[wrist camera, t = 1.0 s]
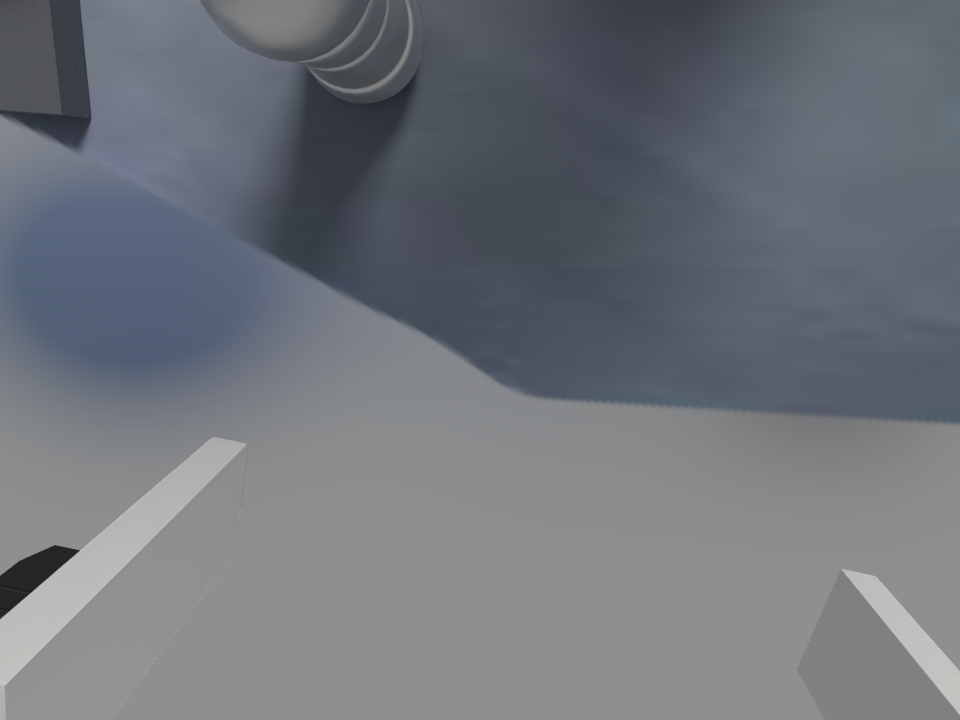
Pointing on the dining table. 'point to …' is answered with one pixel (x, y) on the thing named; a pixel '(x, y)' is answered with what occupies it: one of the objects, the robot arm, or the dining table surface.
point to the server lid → (43, 58)
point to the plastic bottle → (332, 40)
